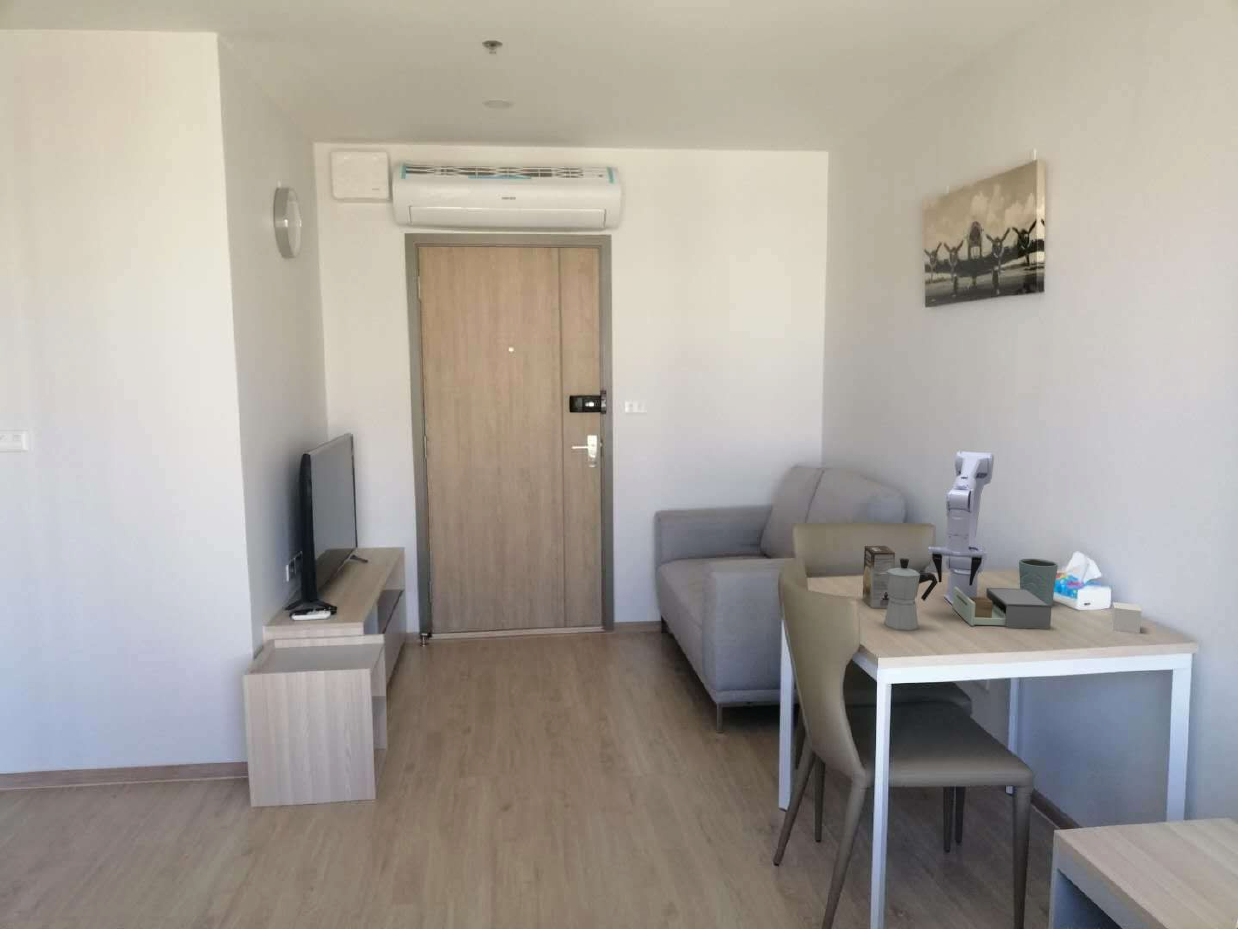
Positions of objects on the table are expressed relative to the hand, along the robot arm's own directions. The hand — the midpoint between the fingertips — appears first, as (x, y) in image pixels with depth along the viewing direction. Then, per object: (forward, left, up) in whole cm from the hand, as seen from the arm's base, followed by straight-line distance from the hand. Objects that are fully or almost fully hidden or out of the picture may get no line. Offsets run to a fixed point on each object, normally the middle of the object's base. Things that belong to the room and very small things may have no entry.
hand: (955, 583), depth 226 cm
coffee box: (-11, -18, -10) cm, 23 cm away
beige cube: (+5, +42, -10) cm, 43 cm away
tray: (0, +8, -9) cm, 12 cm away
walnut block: (0, +7, -9) cm, 11 cm away
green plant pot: (-17, +28, -10) cm, 34 cm away
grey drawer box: (0, +16, -10) cm, 19 cm away
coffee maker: (+9, -15, -10) cm, 20 cm away
